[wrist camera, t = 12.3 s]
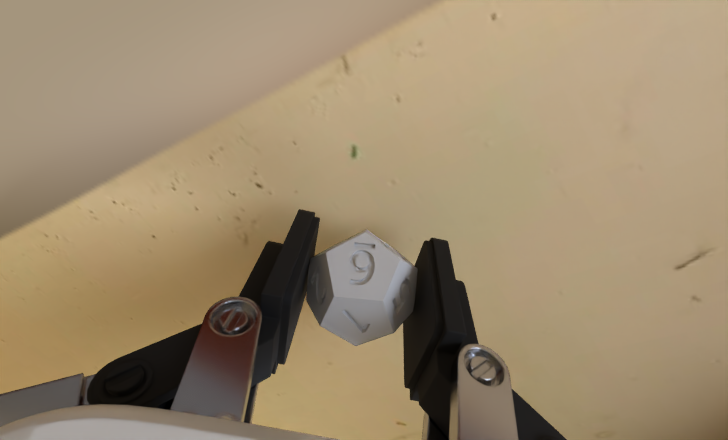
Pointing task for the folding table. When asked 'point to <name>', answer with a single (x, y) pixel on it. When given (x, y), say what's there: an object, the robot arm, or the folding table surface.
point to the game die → (361, 288)
